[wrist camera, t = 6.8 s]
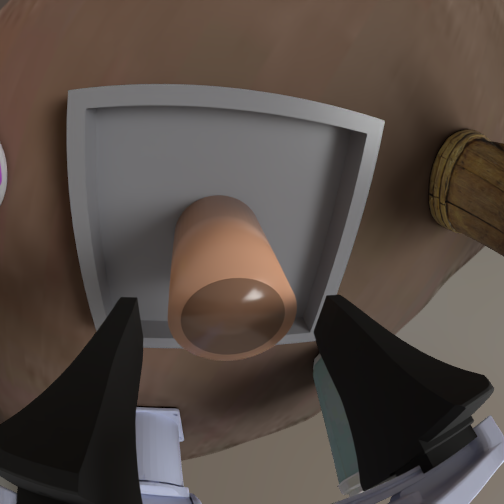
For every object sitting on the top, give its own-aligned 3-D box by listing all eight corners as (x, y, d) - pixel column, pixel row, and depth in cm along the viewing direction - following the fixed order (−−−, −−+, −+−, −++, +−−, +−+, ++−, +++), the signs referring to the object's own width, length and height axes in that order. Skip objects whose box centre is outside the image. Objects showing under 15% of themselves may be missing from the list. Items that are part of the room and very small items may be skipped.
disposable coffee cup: (282, 346, 24) (340, 506, 11) (389, 297, 24) (481, 425, 11) (304, 394, 30) (346, 506, 17) (386, 356, 30) (444, 456, 17)
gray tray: (307, 319, 23) (318, 340, 21) (106, 320, 19) (100, 345, 17) (361, 115, 15) (385, 120, 13) (86, 90, 11) (68, 90, 9)
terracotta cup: (246, 276, 18) (273, 363, 12) (168, 265, 17) (162, 356, 11) (270, 204, 16) (316, 275, 10) (182, 187, 15) (176, 256, 9)
